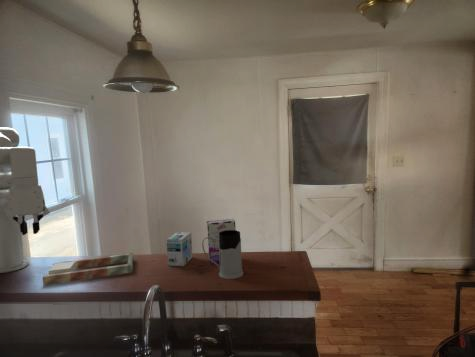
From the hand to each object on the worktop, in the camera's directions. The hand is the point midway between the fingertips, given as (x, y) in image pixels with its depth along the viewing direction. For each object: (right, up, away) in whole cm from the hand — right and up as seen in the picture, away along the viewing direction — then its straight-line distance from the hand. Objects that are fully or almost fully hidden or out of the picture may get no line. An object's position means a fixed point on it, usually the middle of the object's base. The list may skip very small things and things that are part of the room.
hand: (30, 233), depth 108 cm
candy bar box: (+68, -14, +14) cm, 71 cm away
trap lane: (+19, -16, +7) cm, 26 cm away
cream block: (+9, -17, +4) cm, 20 cm away
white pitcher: (+69, -15, +1) cm, 70 cm away
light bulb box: (+51, -14, +15) cm, 55 cm away
